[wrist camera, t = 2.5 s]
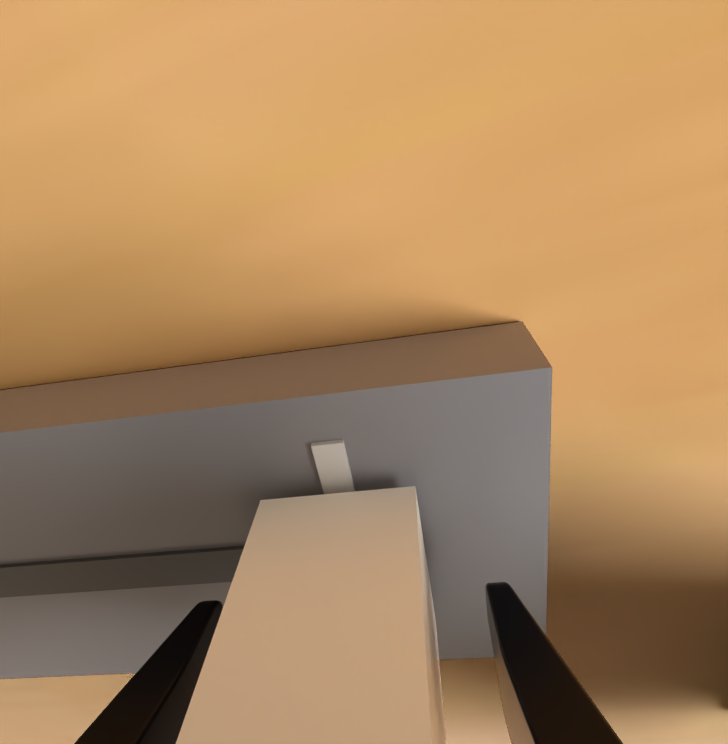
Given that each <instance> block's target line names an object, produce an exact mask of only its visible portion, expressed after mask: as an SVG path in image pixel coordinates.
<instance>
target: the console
mask: <svg viewBox="0 0 728 744" xmlns="http://www.w3.org/2000/svg"><path fill="white" fill-rule="evenodd" d="M551 395H552V366H551V365H550V363H549V362H548V360H547V359H546V357H545V356H544V354H543V353H542V351H541V350H540V348H539V346H538V345H537V343H536V342H535V340H534V339H533V337H532V336H531V334H530V333H529V331H528V330H527V328H526V326H525V325H524V323H523V322H514V323H506V324H499V325H491V326H484V327H476V328H468V329H461V330H453V331H446V332H438V333H431V334H423V335H415V336H408V337H400V338H393V339H385V340H377V341H370V342H362V343H355V344H347V345H339V346H332V347H324V348H317V349H309V350H301V351H294V352H286V353H279V354H271V355H263V356H256V357H248V358H241V359H233V360H225V361H218V362H210V363H203V364H195V365H188V366H180V367H172V368H165V369H157V370H150V371H142V372H134V373H127V374H119V375H112V376H104V377H96V378H89V379H81V380H74V381H66V382H58V383H51V384H43V385H36V386H28V387H20V388H13V389H5V390H0V679H15V678H38V677H61V676H83V675H106V674H129V673H137V672H138V670H139V669H140V668H141V667H142V666H143V665H144V664H145V662H146V661H147V660H148V659H149V658H150V657H151V656H152V654H153V653H154V652H155V651H156V650H157V649H158V648H159V646H160V645H161V644H162V643H163V642H164V641H165V640H166V638H167V637H168V636H169V635H170V634H171V633H172V632H173V630H174V629H175V628H176V627H177V626H178V625H179V624H180V622H181V621H182V620H183V619H184V618H185V617H186V616H187V615H188V613H189V612H190V611H191V610H192V609H193V608H194V607H195V605H197V604H198V603H199V602H202V601H211V600H219V601H220V602H221V603H222V604H223V606H224V603H225V601H226V598H227V595H228V592H229V589H230V586H231V583H232V580H233V578H234V575H235V572H236V569H237V566H238V563H239V560H240V557H241V555H242V552H243V549H244V546H245V543H246V540H247V537H248V534H249V532H250V529H251V526H252V523H253V520H254V517H255V514H256V511H257V509H258V506H259V503H260V500H267V499H278V498H289V497H300V496H311V495H322V494H333V493H344V492H355V491H366V490H377V489H388V488H399V487H410V486H415V488H416V494H417V501H418V507H419V514H420V520H421V527H422V534H423V540H424V547H425V553H426V560H427V567H428V573H429V580H430V586H431V593H432V599H433V606H434V613H435V619H436V629H437V641H438V652H439V660H448V659H470V658H493V657H494V653H493V647H492V641H491V635H490V629H489V623H488V616H487V605H486V591H485V586H486V584H487V583H493V582H507V583H508V584H509V585H510V586H511V587H512V588H513V590H514V591H515V592H516V594H517V595H518V597H519V598H520V599H521V601H522V602H523V604H524V605H525V606H526V608H527V609H528V611H529V612H530V614H531V615H532V616H533V618H534V619H535V621H536V622H537V623H538V625H539V626H540V628H541V629H542V630H543V632H544V633H545V635H546V614H547V570H548V526H549V482H550V439H551Z"/></svg>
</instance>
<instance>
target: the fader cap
mask: <svg viewBox="0 0 728 744" xmlns="http://www.w3.org/2000/svg"><path fill="white" fill-rule="evenodd" d="M176 744H447V743H446V732H445V721H444V709H443V698H442V686H441V675H440V664H439V652H438V641H437V629H436V619H435V613H434V606H433V599H432V593H431V586H430V580H429V573H428V567H427V560H426V553H425V547H424V540H423V534H422V527H421V520H420V514H419V507H418V501H417V494H416V488H415V486H410V487H399V488H388V489H377V490H366V491H355V492H344V493H333V494H322V495H311V496H300V497H289V498H278V499H267V500H260V503H259V506H258V509H257V511H256V514H255V517H254V520H253V523H252V526H251V529H250V532H249V534H248V537H247V540H246V543H245V546H244V549H243V552H242V555H241V557H240V560H239V563H238V566H237V569H236V572H235V575H234V578H233V580H232V583H231V586H230V589H229V592H228V595H227V598H226V601H225V603H224V606H223V609H222V612H221V615H220V618H219V621H218V624H217V626H216V629H215V632H214V635H213V638H212V641H211V644H210V646H209V649H208V652H207V655H206V658H205V661H204V664H203V667H202V669H201V672H200V675H199V678H198V681H197V684H196V687H195V690H194V692H193V695H192V698H191V701H190V704H189V707H188V710H187V713H186V715H185V718H184V721H183V724H182V727H181V730H180V733H179V736H178V738H177V741H176Z"/></svg>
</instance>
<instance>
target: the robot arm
mask: <svg viewBox="0 0 728 744" xmlns="http://www.w3.org/2000/svg"><path fill="white" fill-rule="evenodd" d="M485 591H486V605H487V616H488V623H489V629H490V635H491V641H492V647H493V653H494V659H495V665H496V671H497V677H498V683H499V689H500V695H501V700H502V706H503V711H504V716H505V720H506V724H507V728H508V732H509V736H510V739H511V743H512V744H623V743H622V742H621V740H620V739H619V737H618V736H617V734H616V733H615V732H614V730H613V729H612V727H611V726H610V725H609V723H608V722H607V720H606V719H605V718H604V716H603V715H602V713H601V712H600V711H599V709H598V708H597V706H596V705H595V704H594V702H593V701H592V699H591V698H590V697H589V695H588V694H587V692H586V691H585V689H584V688H583V687H582V685H581V684H580V682H579V681H578V680H577V678H576V677H575V675H574V674H573V673H572V671H571V670H570V668H569V667H568V666H567V664H566V663H565V661H564V660H563V659H562V657H561V656H560V654H559V653H558V651H557V650H556V649H555V647H554V646H553V644H552V643H551V642H550V640H549V639H548V637H547V636H546V635H545V633H544V632H543V630H542V629H541V628H540V626H539V625H538V623H537V622H536V621H535V619H534V618H533V616H532V615H531V614H530V612H529V611H528V609H527V608H526V606H525V605H524V604H523V602H522V601H521V599H520V598H519V597H518V595H517V594H516V592H515V591H514V590H513V588H512V587H511V586H510V585H509V584H508V583H507V582H493V583H487V584H486V586H485ZM222 609H223V604H222V603H221V602H220V601H219V600H211V601H202V602H199V603H198V604H197V605H195V607H194V608H193V609H192V610H191V611H190V612H189V613H188V615H187V616H186V617H185V618H184V619H183V620H182V621H181V622H180V624H179V625H178V626H177V627H176V628H175V629H174V630H173V632H172V633H171V634H170V635H169V636H168V637H167V638H166V640H165V641H164V642H163V643H162V644H161V645H160V646H159V648H158V649H157V650H156V651H155V652H154V653H153V654H152V656H151V657H150V658H149V659H148V660H147V661H146V662H145V664H144V665H143V666H142V667H141V668H140V669H139V670H138V672H137V673H136V674H135V675H134V676H133V677H132V678H131V680H130V681H129V682H128V683H127V684H126V685H125V686H124V688H123V689H122V690H121V691H120V692H119V693H118V694H117V696H116V697H115V698H114V699H113V700H112V701H111V702H110V704H109V705H108V706H107V707H106V708H105V709H104V710H103V712H102V713H101V714H100V715H99V716H98V717H97V718H96V720H95V721H94V722H93V723H92V724H91V725H90V726H89V728H88V729H87V730H86V731H85V732H84V733H83V734H82V736H81V737H80V738H79V739H78V740H77V741H76V742H75V744H176V741H177V738H178V736H179V733H180V730H181V727H182V724H183V721H184V718H185V715H186V713H187V710H188V707H189V704H190V701H191V698H192V695H193V692H194V690H195V687H196V684H197V681H198V678H199V675H200V672H201V669H202V667H203V664H204V661H205V658H206V655H207V652H208V649H209V646H210V644H211V641H212V638H213V635H214V632H215V629H216V626H217V624H218V621H219V618H220V615H221V612H222Z"/></svg>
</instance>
